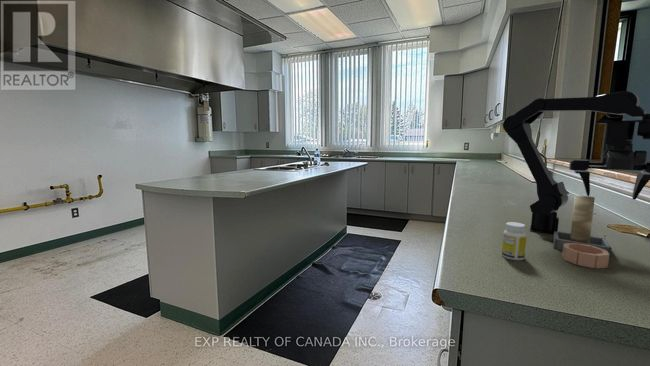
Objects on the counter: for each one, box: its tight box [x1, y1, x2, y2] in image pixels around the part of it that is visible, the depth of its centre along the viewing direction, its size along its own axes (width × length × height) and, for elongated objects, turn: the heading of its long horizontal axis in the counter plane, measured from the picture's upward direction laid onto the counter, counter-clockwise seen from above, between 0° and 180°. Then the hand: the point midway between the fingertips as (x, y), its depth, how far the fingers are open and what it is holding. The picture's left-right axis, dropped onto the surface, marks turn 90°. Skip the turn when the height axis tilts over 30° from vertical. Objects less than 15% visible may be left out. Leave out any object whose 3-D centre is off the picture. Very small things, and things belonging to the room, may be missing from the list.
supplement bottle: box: [501, 221, 527, 261], centre depth 73 cm, size 5×5×8 cm
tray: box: [552, 230, 613, 258], centre depth 79 cm, size 11×9×2 cm
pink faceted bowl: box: [561, 243, 610, 269], centre depth 71 cm, size 8×8×3 cm
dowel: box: [570, 195, 596, 244], centre depth 79 cm, size 4×4×13 cm
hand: (610, 197), depth 81 cm, fingers open, 9 cm apart
